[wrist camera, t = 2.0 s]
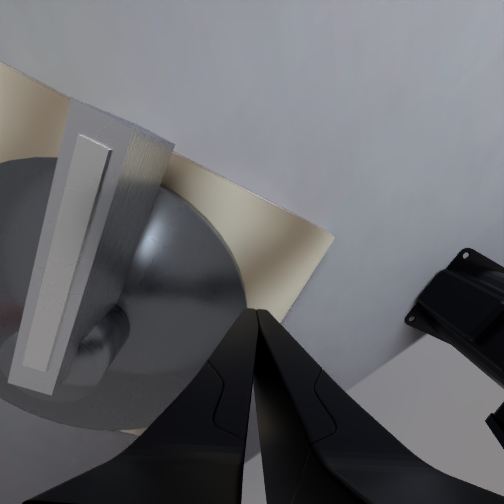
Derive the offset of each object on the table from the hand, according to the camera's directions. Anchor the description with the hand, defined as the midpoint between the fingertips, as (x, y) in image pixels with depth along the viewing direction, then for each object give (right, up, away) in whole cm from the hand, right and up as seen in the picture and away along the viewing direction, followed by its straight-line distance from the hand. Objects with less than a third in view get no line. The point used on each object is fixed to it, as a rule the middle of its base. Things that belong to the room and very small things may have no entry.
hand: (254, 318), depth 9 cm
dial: (-9, -1, +5) cm, 10 cm away
